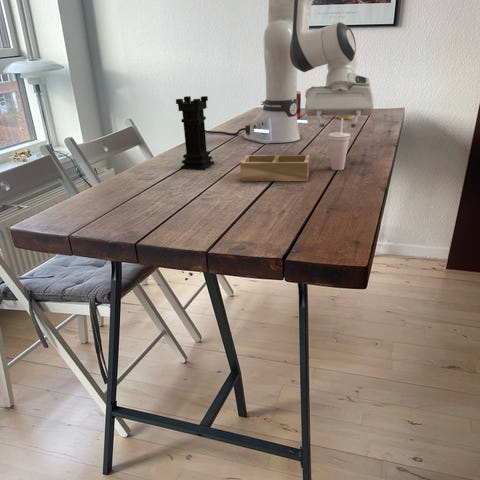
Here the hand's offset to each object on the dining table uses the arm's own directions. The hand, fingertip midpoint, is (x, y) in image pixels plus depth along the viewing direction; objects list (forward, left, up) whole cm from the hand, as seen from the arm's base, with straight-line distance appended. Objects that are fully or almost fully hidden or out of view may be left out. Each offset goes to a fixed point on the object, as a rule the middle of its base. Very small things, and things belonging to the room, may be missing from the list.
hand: (337, 126), depth 149 cm
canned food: (-68, +57, -11) cm, 90 cm away
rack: (-4, -23, -11) cm, 26 cm away
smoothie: (+5, -6, -11) cm, 13 cm away
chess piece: (-32, -29, -11) cm, 45 cm away
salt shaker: (-46, +69, -11) cm, 84 cm away
